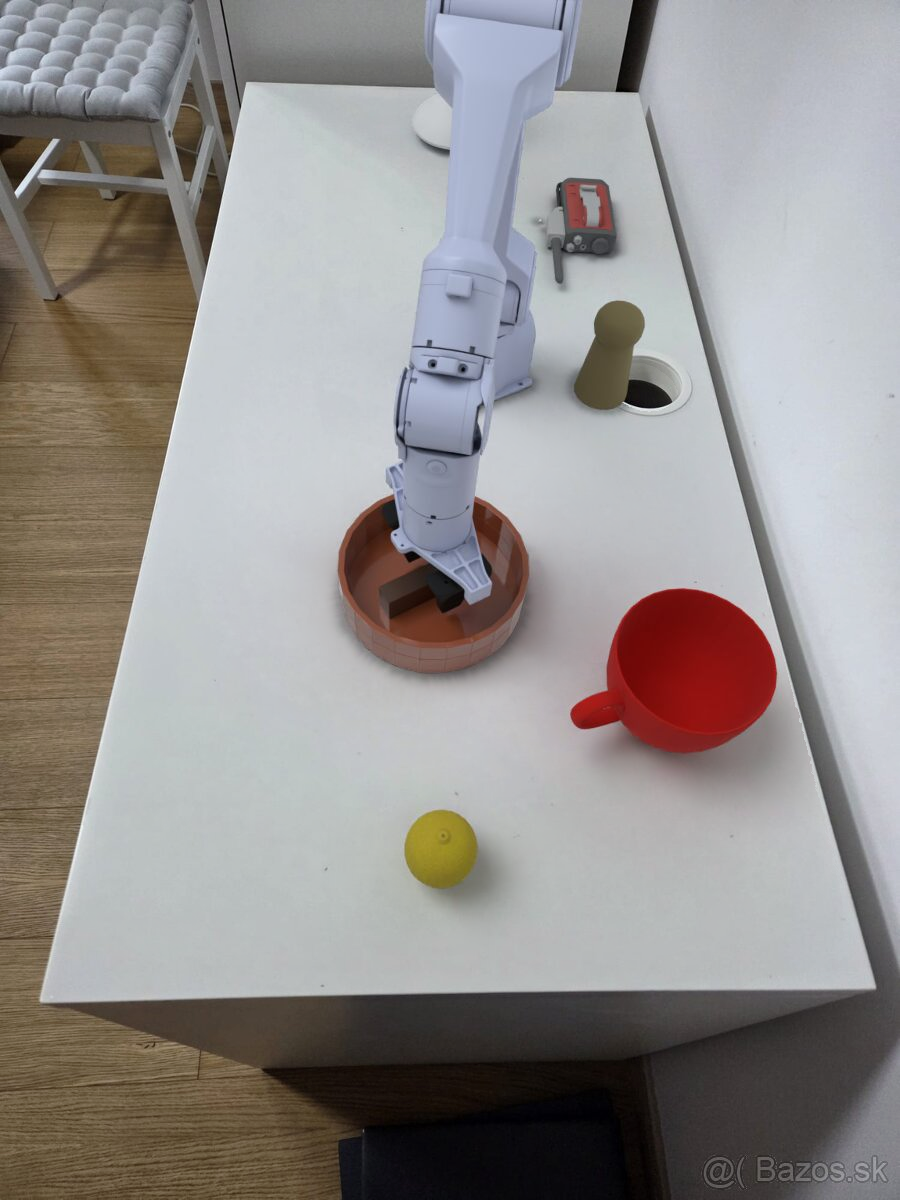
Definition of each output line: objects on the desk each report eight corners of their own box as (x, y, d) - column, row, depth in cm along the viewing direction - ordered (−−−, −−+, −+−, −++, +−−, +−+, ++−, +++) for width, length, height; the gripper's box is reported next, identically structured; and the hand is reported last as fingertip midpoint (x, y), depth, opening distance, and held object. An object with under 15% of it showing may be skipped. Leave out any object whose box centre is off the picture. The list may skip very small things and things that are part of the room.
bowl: (463, 494, 83) (466, 462, 79) (556, 622, 76) (566, 595, 72) (310, 560, 78) (305, 530, 74) (395, 705, 71) (395, 681, 67)
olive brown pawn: (624, 414, 90) (650, 336, 81) (570, 404, 90) (590, 325, 81) (628, 376, 93) (654, 297, 84) (577, 366, 93) (597, 286, 84)
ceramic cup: (524, 685, 73) (541, 633, 64) (684, 624, 77) (720, 567, 68) (593, 818, 67) (621, 780, 58) (761, 744, 71) (811, 699, 62)
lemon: (402, 828, 66) (402, 799, 59) (469, 823, 66) (478, 794, 59) (405, 900, 63) (406, 878, 56) (476, 894, 63) (486, 872, 56)
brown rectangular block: (470, 560, 78) (473, 542, 76) (481, 575, 78) (484, 558, 75) (379, 603, 75) (378, 586, 73) (389, 619, 75) (389, 603, 72)
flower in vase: (463, 168, 112) (479, -48, 90) (396, 139, 114) (395, -78, 93) (512, 127, 118) (537, -86, 96) (446, 99, 120) (457, -113, 99)
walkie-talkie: (540, 192, 110) (548, 290, 100) (545, 161, 106) (554, 259, 96) (604, 196, 110) (619, 294, 100) (612, 164, 106) (628, 263, 96)
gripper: (351, 446, 65) (358, 541, 77) (441, 579, 60) (434, 660, 71) (427, 415, 68) (423, 512, 79) (521, 542, 62) (501, 627, 73)
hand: (432, 580), depth 75 cm, fingers open, 6 cm apart
